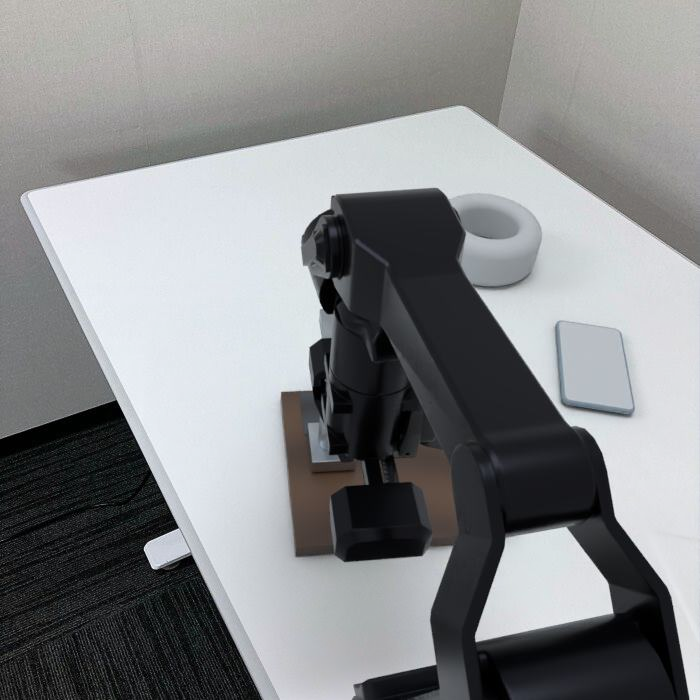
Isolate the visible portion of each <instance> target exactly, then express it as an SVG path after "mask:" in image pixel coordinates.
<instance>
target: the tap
mask: <svg viewBox="0 0 700 700" xmlns="http://www.w3.org/2000/svg"><path fill="white" fill-rule="evenodd" d="M318 323H319V330H320V335H321V338H332V327H333V314H331V315H329V314H326V313H325V311H324V310H323V308H320V309H319V315H318ZM307 436H308V445H309V453H310V461H311V469H312V472H326V471H343V470H355V468H356V460H355V459H354V461H353V462H346V463H342V462H341V461H340V459H339V457H338V455H330V456H329V453H328V446H327V439H326V432H325V426H324V423H323V421H322V419H321V417H319V423H308V426H307Z"/></svg>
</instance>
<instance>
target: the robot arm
mask: <svg viewBox="0 0 700 700" xmlns="http://www.w3.org/2000/svg"><path fill="white" fill-rule="evenodd" d="M449 199H450V198H449V197H448V196H447V195H446V194H445V192H443V191H442V190H441V189H440V188H438V187H426V188H425V187H423V188H411V189H394V190H383V191H382V190H379V191H364V192H348V193H336V194H334V195H333V194H332V195H331V197H330V206H329V207H330V208H328V209H326V210H324V211H323V212H321V213H320V214H318V215H317V216H316V217H315V218H313V219H312V220H311V221H310V223H309V224H308V225H307V226H306V228H305V230H304V232H303V234H302V235H301V240H300V250H301V261H302V266H303V267H307V268H308V272H309V274H310V277H311V280H312V284H313V287H314V289H315V292H316V295H317V298H318V301H319V304H320V306H321V309H323V310H324V311H325V313H326V314H329V315H331V314H333V327H332V338H322V337H321V338H320V339H319V340H317V341H316V342H314V343H313V344H312V345H311V346H309V351H308V370H309V377H310V384H311V385H310V386H311V390H312V391H313V398H314V403H315V405H316V407H317V410H318V412H319V414H320V417H321V419H322V421H323V423H324V426H325V432H326V439H327V446H328V453H329V456H330V455H338V457H339V459H340V461H341V462H342V463H346V462H353V461H354V459H355V460H359V461H360V463H361V468H362V474H363V479H364V485H354V486H344V487H343V488H341V489H340V490H338V491H337V492H335V493H333V494H332V495H330V512H329V515H330V524H331V531H332V539H333V546H334V553H335V554H334V557H336V558H337V559H339V560H340V561H342V562H343V563H356V562H368V561H381V560H390V559H391V560H394V559H405V558H419V557H423V556H424V555H425V554H426V553H427V551H428V550H429V549H430V547H429V546H430V542H431V538H432V534H433V530H432V526H431V521H430V517H429V513H428V509H427V505H426V501H425V497H424V493H423V489H421V488H420V487H418V486H417V485H415V484H413V483H412V482H401V483H400V482H399V477H398V473H397V468H396V464H395V459H394V455H393V452H398V455H399V456H400V457H407V456H417V452H418V447H419V443H420V444H421V445H423V446H426V447H430V448H435V449H440V450H443V451H444V453H445V456H446V458H447V460H448V462H449V464H450V466H451V482H452V491H453V498H454V504H455V511H456V517H457V524H458V534H457V537H456V540H455V543H454V545H452V549H451V551H450V555H449V557H448V561H447V563H446V565H445V569H444V572H443V575H442V577H441V580H440V582H439V586H438V589H437V591H436V595H435V598H434V600H433V603H432V606H431V609H430V615H429V616H430V618H429V623H430V631H431V638H432V644H433V651H434V657H435V664H432V665H427V666H423V667H418V668H414V669H409V670H404V671H400V672H399V671H398V672H395V673H391V674H384V675H381V676H376V677H371V678H368V679H366V680H364V681H362V682H359V683H354V684H353V686H352V687H353V691H354V694H355V695H353V697H352V699H351V700H690V693H689V687H688V682H687V676H686V671H685V670H686V669H685V665H684V659H683V655H682V653H683V652H682V648H681V643H680V636H679V631H678V627H677V620H676V614H675V608H674V603H673V599H672V595H671V592H670V590H669V588H668V586H667V585H666V583H665V581H663V580H662V578H661V577H660V576H659V574H658V573H657V571H656V570H655V569H654V567H653V566H652V565H651V563H650V562H649V561H648V559H647V558H646V557H645V555H644V554H643V553H642V552H641V550H640V549H639V547H638V546H637V545H636V544H635V542H634V541H633V540H632V538H631V536H630V535H629V534H628V533H627V531H626V530H625V529H624V527H623V526H622V525H621V524H620V522H619V521H618V519H617V517H616V514H615V510H614V509H615V508H614V501H613V497H612V491H611V485H610V484H611V483H610V479H609V478H610V477H609V474H608V469H607V465H606V461H605V458H604V454H603V452H602V450H601V448H600V446H599V444H598V442H597V439H596V438H595V437H594V436H593V435H592V434H591V433H590V432H589V431H588V430H587V429H586V428H585V427H581V426H579V425H573V426H571V424H569V423H568V422H567V421H566V420H565V417H564V416H563V415H562V413H561V412H560V411H559V409H558V407H557V406H556V405H555V403H554V402H553V400H552V399H551V397H550V396H549V394H548V393H547V391H546V389H544V387H543V386H542V384H541V383H540V382H539V379H538V378H537V377H536V375H535V374H534V372H533V371H532V369H531V368H530V367H529V365H528V364H527V362H526V360H524V358H523V356H522V355H521V353H520V352H519V350H518V349H517V348H516V346H515V345H514V343H513V342H512V341H511V340H512V339H510V338H509V335H507V333H506V331H505V330H504V329H503V327H502V326H501V325H500V323H499V321H498V320H497V318H496V316H494V314H493V312H492V311H491V309H490V308H489V307H488V305H487V303H486V302H485V301H484V299H483V298H482V296H481V295H480V294H479V292H478V291H477V289H476V287H475V285H474V284H472V283H471V282H470V280H469V279H468V278H467V276H466V274H465V272H464V270H463V268H462V266H461V262H462V256H463V250H464V243H465V237H466V232H465V230H464V228H463V226H462V224H461V219H460V217H459V214H458V212H457V211H456V209H455V208H454V207H452V205H451V203H450V201H449ZM379 461H381V462H380V463H379ZM380 465H381V467H380ZM381 470H382V472H381ZM382 475H383V477H382ZM383 479H385V480H384V482H383ZM562 528H566V529H567V530H568V532H569V533H570V534H571V535H572V537H573V538H574V539H575V541H576V542H577V544H578V545H579V546H580V547H581V549H582V550H583V551H584V553H585V554H586V555H587V556H588V558H589V559H590V561H591V562H592V564H594V566H595V567H596V569H597V570H598V571H599V573H600V574H601V576H602V577H603V578H604V580H605V581H606V582H607V585H608V590H609V596H610V600H611V601H610V602H611V606H612V607H611V608H612V613H607V614H602V615H598V616H593V617H588V618H583V619H579V620H578V619H577V620H574V621H570V622H564V623H559V624H555V625H550V626H545V627H539V628H535V629H530V630H526V631H521V632H515V633H511V634H507V635H503V636H502V635H501V636H496V637H493V638H487V639H483V640H478V641H476V634H477V631H478V628H479V625H480V622H481V619H482V616H483V614H484V611H485V607H486V605H487V600H488V598H489V596H490V592H491V589H492V586H493V583H494V582H495V581H494V580H495V577H496V574H497V571H498V568H499V566H500V563H501V560H502V556H503V555H504V551H505V547H506V538H507V539H508V538H512V537H513V538H514V537H519V536H522V535H523V536H524V535H529V534H534V533H541V532H546V531H552V530H556V529H562Z"/></svg>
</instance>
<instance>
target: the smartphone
mask: <svg viewBox="0 0 700 700" xmlns="http://www.w3.org/2000/svg"><path fill="white" fill-rule="evenodd" d="M555 335H556V346H557V359H558V370H559V372H558V373H559V382H560V383H559V384H560V395H561V401H562V402H563V403H564V404H565V405H567V406H573V407H579V408H584V409H593V410H599V411H604V412H610V413H617V414H624V415H632V414H633V413H634V412H635V410H636V406H635V400H634V395H633V389H632V384H631V378H630V373H629V367H628V361H627V357H626V356H627V355H626V351H625V344H624V339H623V333H622V332H621V330H619V329H617V328H615V327H608V326H603V325H602V326H601V325H594V324H588V323H582V322H575V321H569V320H558V321H557V322H556V323H555Z"/></svg>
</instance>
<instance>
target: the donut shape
mask: <svg viewBox="0 0 700 700" xmlns="http://www.w3.org/2000/svg"><path fill="white" fill-rule="evenodd" d="M448 199H449V201H450V203H451V205H452V207H454V208H455V209H456V211H457V212H458V214H459V217H460V219H461V224H462V226H463V228H464V230H465V232H466V237H465V243H464V250H463V256H462V262H461V266H462V268H463V270H464V272H465V274H466V276H467V278H468V279H469V280H470V282H471V283H472V285H473V286H480V287H503V286H509V285H512V284H515V283H517V282H520V281H521V280H523V279H524V278H526V277H527V276H528V275H530V273H531V272H532V270H533V268H534V267H535V265H536V260H537V257H538V254H539V250H540V248H541V244H542V241H543V240H542V239H543V231H542V227H541V224H540V222H539V220H538V218H537V217H536V216H535V215H534V213H533V212H532V211H530V210H529V209H528V208H527V207H525V206H524V205H522V204H521V203H519V202H517V201H515V200H513V199H511V198H507V197H504V196H502V195H497V194H492V193H484V192H482V193H481V192H480V193H479V192H476V193H475V192H473V193H465V194H460V195H456V196H454V197H450V198H448Z"/></svg>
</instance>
